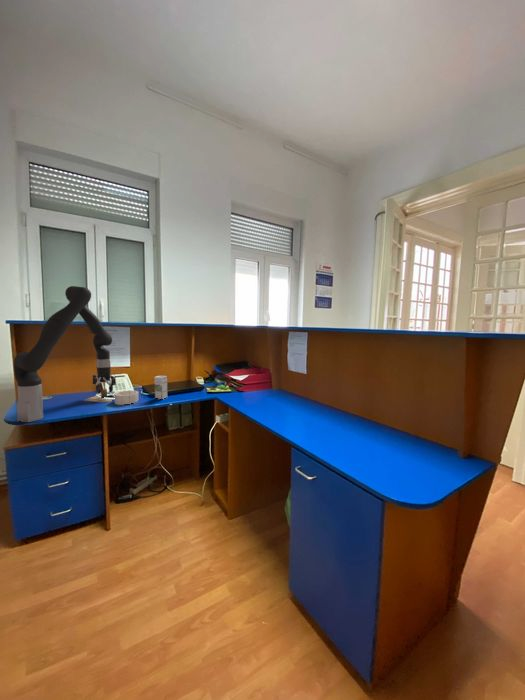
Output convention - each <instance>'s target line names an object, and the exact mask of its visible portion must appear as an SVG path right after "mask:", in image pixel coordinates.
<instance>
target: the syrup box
mask: <svg viewBox="0 0 525 700" xmlns="http://www.w3.org/2000/svg"><path fill="white" fill-rule="evenodd" d="M166 397H167V398H168V376H167V375H157V376H154V399H155V398H158V399H157V400H160V399H163V400H165V399H164V398H166ZM167 398H166V399H167Z"/></svg>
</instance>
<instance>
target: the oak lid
mask: <svg viewBox="0 0 525 700" xmlns="http://www.w3.org/2000/svg"><path fill="white" fill-rule="evenodd" d="M100 394H101V398H99V397H97V396H96V395H94V396H91V397H88V398H86V399H83V400H82V401H83V402H90V403H91V402H93V403H94V402H95V403H106V404H107V403H110V402H112V400H113V399H102V398H104V397H106V396H107V394H108V389H107V388H103V389H100ZM113 401H114V400H113Z"/></svg>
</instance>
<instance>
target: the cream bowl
mask: <svg viewBox="0 0 525 700" xmlns="http://www.w3.org/2000/svg"><path fill="white" fill-rule="evenodd" d="M113 394H114V397H115V400H114V404H115V405H117V406H125V405H124V404H130V405H132V404H131V403H134V404H136V403H135V402H137V401H138V400H139V399H140V398H139V391H138V390H132V389H131V390H129V389H127V390H121V391H117V392H114V393H113ZM139 401H140V400H139ZM139 401H138V402H139ZM138 402H137V403H138Z"/></svg>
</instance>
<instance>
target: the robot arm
mask: <svg viewBox="0 0 525 700" xmlns="http://www.w3.org/2000/svg"><path fill="white" fill-rule="evenodd" d="M64 294H65V297H66V300H67V301H68V302H69V303H68V304H67V305H65V306H64V307H63V308H61V309H60V310H58V311H56V312H55V313H53V314H52V315H50V317H49V318H48V319H47V321H46V322H45V323H44V324H43V326H42V328H41V331H40V333H39V338H38V340H37V342H36V344H35V345H34V346H33V347H32V349H31V350H30V351H20V352H19V353H17V354H16V355H15V357H14V359H13V368H14V369H13V370H14V371H13V372H14V378H15V381H16V383H17V384H16V385H17V396H18V397H17V398H18V399H17V400H18V401H16V416H17V417H16V418H17V422H19V421H21V422H22V423H30V422H31V423H32V422H35V421H39V420H42V419H43V418H44V405H43V404H44V403H43V402H44V401H43V382H42V378H41V376H39V374H38V371H39V370H40V369H41V368H42V367H43V366H44V365H45V362H46V361H47V359H48V358H49V356H50V354H51V352H52V351H53V349H54V348H55V346H56V345H57V344H58V343H59V341H60V339H61V338H62V337H63V336H64V335H65V333H66V331H67V330H68V329H69V327H70V326H71V324H72V323H73V321H74V320H75V319H76V317H77V316H78V315H79V316H80V317H81V319H83V321H84V323H85V324H86V326H87V328H88V329H89V331H90V333H91V334H92V335H94V336H93V338H92V343H93V347H94V348H95V352H96V374H93V375H92V385H95V390H96V392H101V383H106V384H107V385H108V392H109V393H112V392H113V391H114V386H116V385H117V381H116V375H114V374H113V375H111V371H112V370H111V358H110V357H111V355H110V350H109V349H107V348H105V347H104V346H107V347H108V346H110V345H111V344H112V342H113V338H112V335H111V334H110V332H108V331H107V330H106V328H105V327H104V326H103V325H102V323H101V321H100V319H99V318H98V316H97V315H96V314H95V313H94V312H93V311H92V310H91V309H90V308H89V307H88V306H87V305H88V304H89V302H90V301H91V299H92V291H91V290H90V289H89V288H87V287H85V286H76V285H71V286H68V287H67V288H66V290H65V292H64ZM21 422H20V423H21Z"/></svg>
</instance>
